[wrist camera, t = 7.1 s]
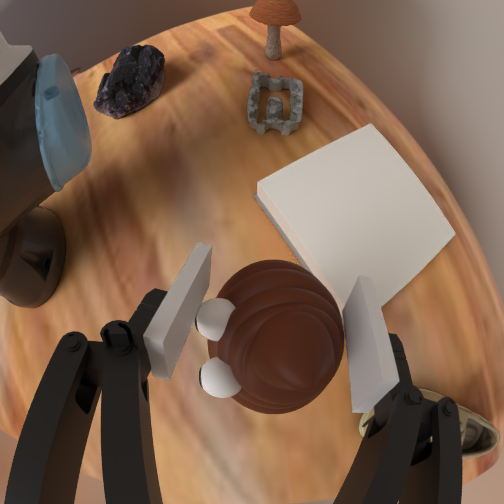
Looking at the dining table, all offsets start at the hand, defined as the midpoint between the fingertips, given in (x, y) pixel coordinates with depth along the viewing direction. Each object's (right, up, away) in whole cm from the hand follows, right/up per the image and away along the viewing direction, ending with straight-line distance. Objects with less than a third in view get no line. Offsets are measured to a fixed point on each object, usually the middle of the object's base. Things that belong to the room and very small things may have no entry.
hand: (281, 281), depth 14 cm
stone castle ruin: (+2, +22, +22) cm, 31 cm away
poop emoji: (0, -4, +3) cm, 5 cm away
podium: (+12, +5, +17) cm, 21 cm away
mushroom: (+2, +35, +25) cm, 43 cm away
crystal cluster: (-22, +29, +23) cm, 43 cm away
